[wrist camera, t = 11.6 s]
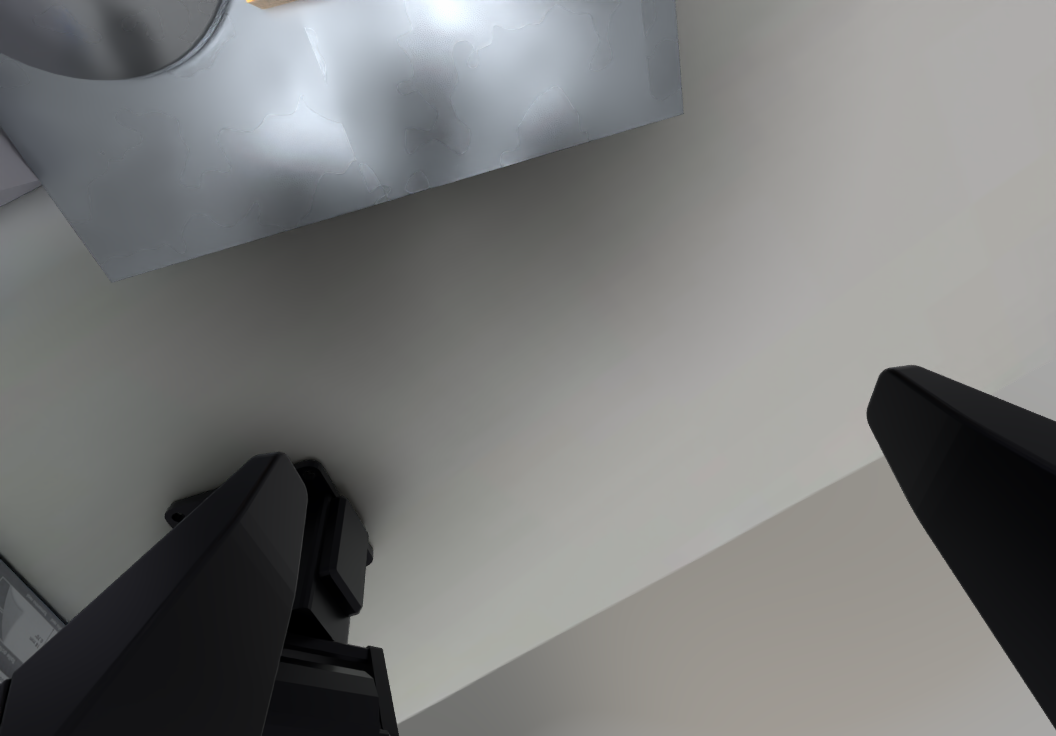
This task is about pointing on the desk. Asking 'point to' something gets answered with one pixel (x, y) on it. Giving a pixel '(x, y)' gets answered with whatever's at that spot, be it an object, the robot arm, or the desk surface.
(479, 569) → the desk surface
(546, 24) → the orange-framed metal plate
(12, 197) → the charger
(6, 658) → the label tape cartridge
